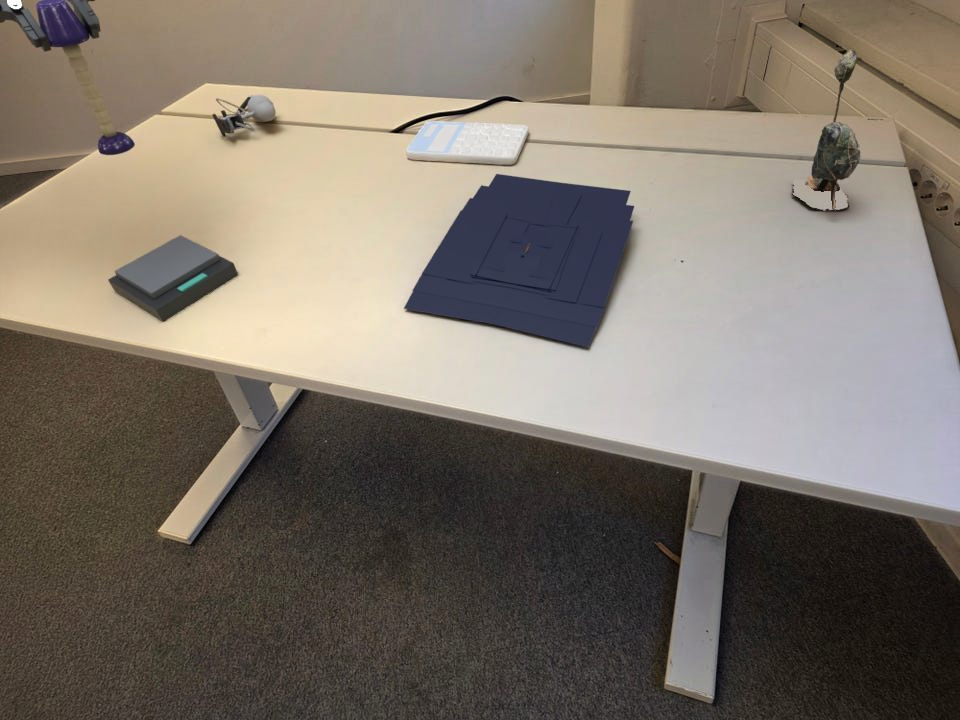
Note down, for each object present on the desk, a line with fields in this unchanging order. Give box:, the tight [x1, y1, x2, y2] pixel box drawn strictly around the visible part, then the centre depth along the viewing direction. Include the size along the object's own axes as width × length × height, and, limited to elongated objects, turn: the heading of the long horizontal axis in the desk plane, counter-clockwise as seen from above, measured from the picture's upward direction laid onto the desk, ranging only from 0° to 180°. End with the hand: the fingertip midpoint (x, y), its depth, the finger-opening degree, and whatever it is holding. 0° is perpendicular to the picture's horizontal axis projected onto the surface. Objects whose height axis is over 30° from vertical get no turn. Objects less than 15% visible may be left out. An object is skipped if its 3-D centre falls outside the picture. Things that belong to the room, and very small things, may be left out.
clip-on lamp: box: [211, 94, 277, 137], centre depth 121 cm, size 12×6×18 cm
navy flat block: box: [403, 173, 635, 348], centre depth 82 cm, size 24×30×4 cm
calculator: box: [405, 120, 530, 166], centre depth 109 cm, size 13×20×2 cm, turn 76°
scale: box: [107, 234, 239, 322], centre depth 83 cm, size 12×12×3 cm
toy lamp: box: [35, 0, 136, 156], centre depth 72 cm, size 5×5×17 cm
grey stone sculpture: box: [805, 49, 862, 209], centre depth 82 cm, size 8×11×20 cm
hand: (71, 39), depth 67 cm, fingers closed on toy lamp, 4 cm apart
